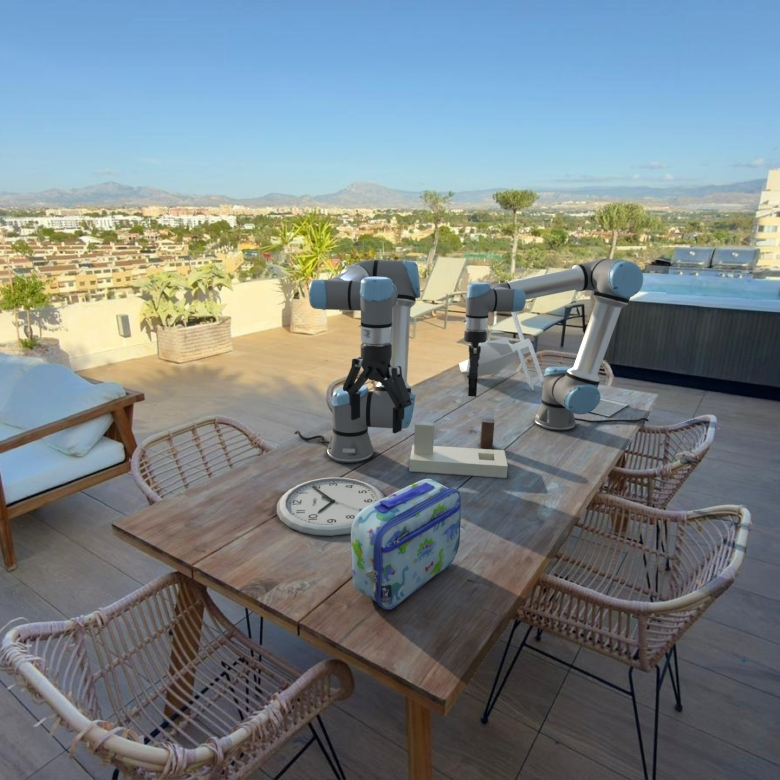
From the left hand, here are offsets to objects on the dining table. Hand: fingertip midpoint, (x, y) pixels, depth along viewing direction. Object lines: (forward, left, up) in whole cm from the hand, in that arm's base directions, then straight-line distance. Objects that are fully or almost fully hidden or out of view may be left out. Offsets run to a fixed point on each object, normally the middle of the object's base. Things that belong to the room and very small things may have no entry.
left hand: (375, 425), depth 132 cm
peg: (+9, +58, -25) cm, 64 cm away
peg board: (+7, +38, -25) cm, 46 cm away
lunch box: (+21, -20, -25) cm, 39 cm away
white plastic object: (-14, +134, -25) cm, 137 cm away
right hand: (+2, +59, -6) cm, 59 cm away
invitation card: (+36, +126, -25) cm, 134 cm away
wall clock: (-12, -3, -25) cm, 28 cm away
